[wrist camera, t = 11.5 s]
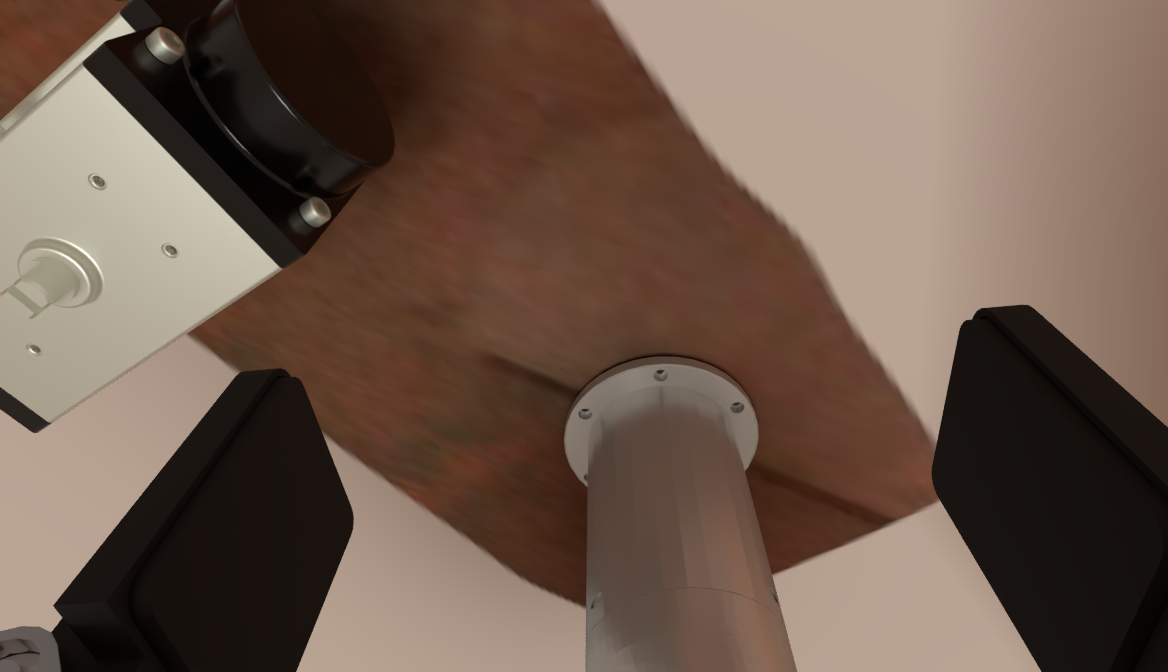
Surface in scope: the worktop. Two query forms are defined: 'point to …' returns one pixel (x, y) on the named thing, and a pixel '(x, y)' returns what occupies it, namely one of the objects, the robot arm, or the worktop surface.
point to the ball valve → (168, 184)
